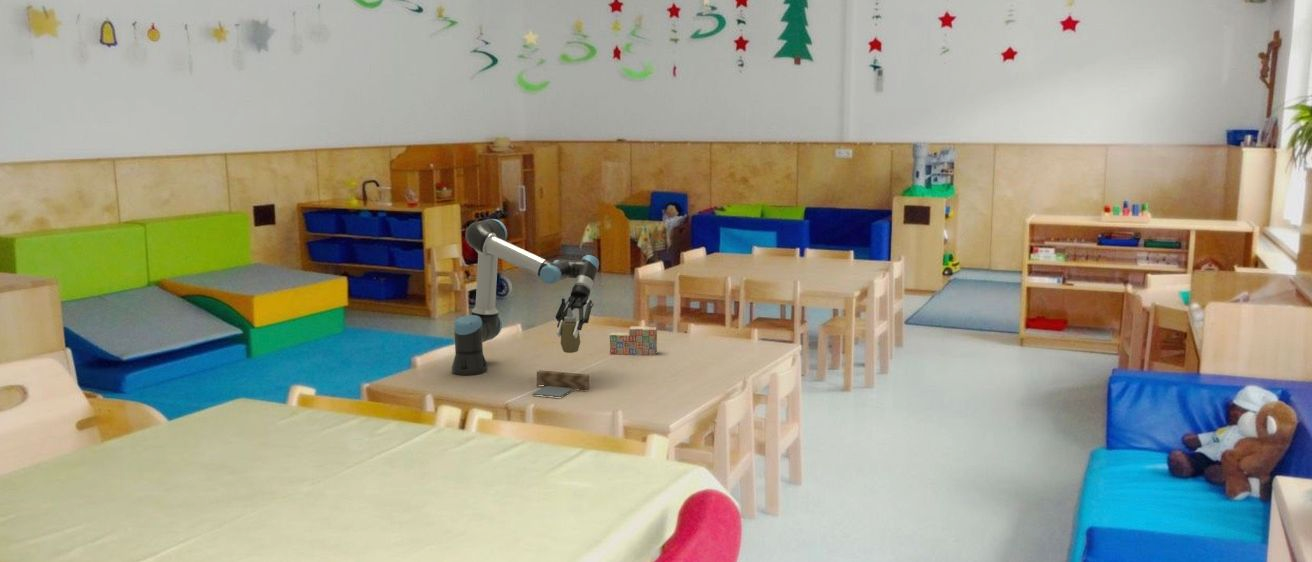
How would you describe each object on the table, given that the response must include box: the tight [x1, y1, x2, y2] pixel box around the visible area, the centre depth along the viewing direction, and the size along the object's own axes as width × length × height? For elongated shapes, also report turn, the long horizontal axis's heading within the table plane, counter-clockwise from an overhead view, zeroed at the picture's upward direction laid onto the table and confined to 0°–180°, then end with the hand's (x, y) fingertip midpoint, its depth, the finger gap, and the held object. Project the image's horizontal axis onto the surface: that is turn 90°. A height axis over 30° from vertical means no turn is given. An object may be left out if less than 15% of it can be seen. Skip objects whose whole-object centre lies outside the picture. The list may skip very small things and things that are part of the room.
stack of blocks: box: [609, 325, 658, 356], centre depth 452 cm, size 21×6×12 cm, turn 84°
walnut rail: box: [536, 369, 590, 391], centre depth 394 cm, size 22×3×6 cm, turn 70°
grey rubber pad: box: [532, 386, 574, 398], centre depth 386 cm, size 12×12×1 cm
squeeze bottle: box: [560, 308, 581, 354], centre depth 396 cm, size 8×8×18 cm
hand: (566, 335), depth 393 cm, fingers closed on squeeze bottle, 6 cm apart
